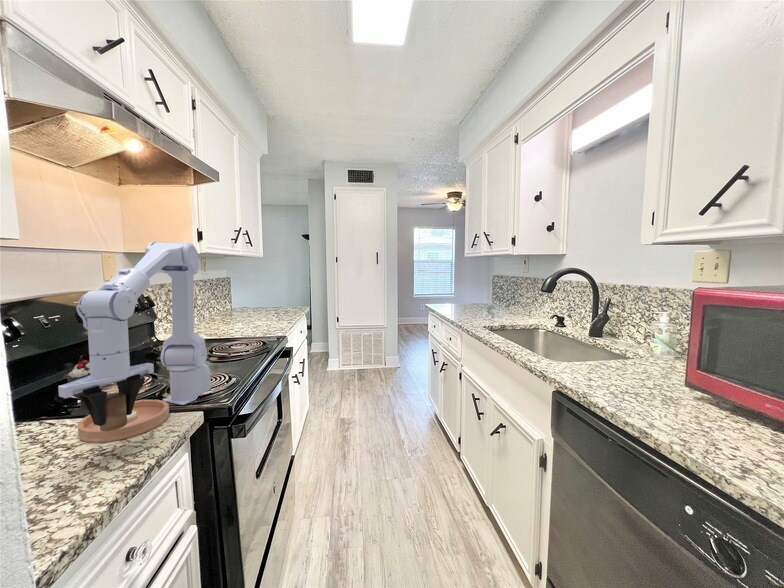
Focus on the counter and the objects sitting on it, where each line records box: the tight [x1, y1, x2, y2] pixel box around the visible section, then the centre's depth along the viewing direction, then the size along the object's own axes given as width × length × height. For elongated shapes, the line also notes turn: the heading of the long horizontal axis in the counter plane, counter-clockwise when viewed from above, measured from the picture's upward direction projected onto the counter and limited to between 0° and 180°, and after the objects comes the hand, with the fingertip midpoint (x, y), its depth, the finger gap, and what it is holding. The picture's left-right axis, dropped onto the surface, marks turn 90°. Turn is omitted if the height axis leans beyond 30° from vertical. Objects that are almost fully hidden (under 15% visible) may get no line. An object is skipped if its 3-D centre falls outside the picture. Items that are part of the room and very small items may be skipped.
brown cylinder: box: [100, 392, 127, 431], centre depth 61 cm, size 4×4×6 cm
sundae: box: [63, 355, 91, 417], centre depth 78 cm, size 7×7×15 cm
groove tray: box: [77, 399, 170, 444], centre depth 73 cm, size 16×16×2 cm
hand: (113, 418), depth 61 cm, fingers closed on brown cylinder, 4 cm apart
